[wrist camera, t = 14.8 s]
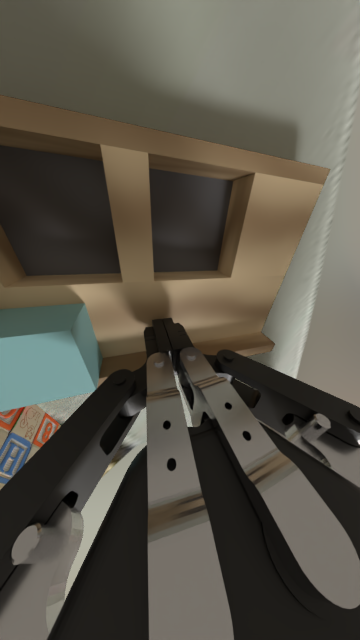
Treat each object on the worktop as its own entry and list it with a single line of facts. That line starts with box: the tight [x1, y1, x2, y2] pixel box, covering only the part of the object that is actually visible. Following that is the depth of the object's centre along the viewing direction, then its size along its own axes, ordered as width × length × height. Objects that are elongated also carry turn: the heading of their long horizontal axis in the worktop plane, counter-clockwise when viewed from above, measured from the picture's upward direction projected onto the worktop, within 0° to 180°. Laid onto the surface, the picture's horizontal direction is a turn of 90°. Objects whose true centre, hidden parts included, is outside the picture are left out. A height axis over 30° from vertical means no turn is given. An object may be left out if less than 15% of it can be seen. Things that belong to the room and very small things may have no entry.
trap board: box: [0, 95, 330, 388], centre depth 10 cm, size 14×22×4 cm, turn 86°
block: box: [0, 303, 103, 412], centre depth 9 cm, size 5×5×3 cm
